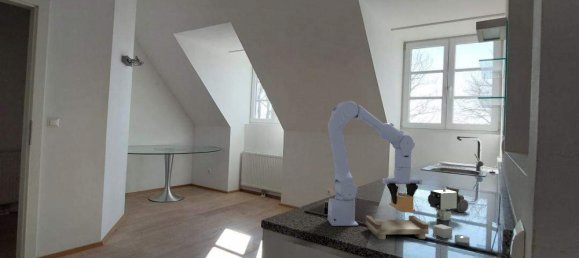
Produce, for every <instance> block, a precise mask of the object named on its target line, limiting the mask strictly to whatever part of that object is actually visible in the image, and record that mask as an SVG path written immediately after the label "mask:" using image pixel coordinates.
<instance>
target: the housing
mask: <svg viewBox="0 0 579 258" xmlns="http://www.w3.org/2000/svg"><path fill="white" fill-rule="evenodd" d="M414 198H415V197H414V196H413V197H412V196H410V195H408V194H407V192H405V191H397V204H394V203H392V197H391V196H390V202H389V204H388V205H389V206H391V207H393V209H396V210H398V211H399V212H401V213H415V212H416V210H415V209H414Z"/></svg>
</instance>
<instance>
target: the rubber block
mask: <svg viewBox="0 0 579 258" xmlns="http://www.w3.org/2000/svg"><path fill="white" fill-rule="evenodd" d="M434 234H435V235H434ZM432 235H434V236H436V235H438V237H439V236H440V238H443V239H447V238H451V237H453V227H452V226H448V225H445V224H441V223H440V224H435V225H432Z"/></svg>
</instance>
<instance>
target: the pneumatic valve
mask: <svg viewBox="0 0 579 258" xmlns="http://www.w3.org/2000/svg"><path fill="white" fill-rule="evenodd" d="M458 194H459V192H456V191H451V190H447V188H444V187H443V188H442V189H437V190H430V192H429V195H428V196H427V202H428V204H429V205H430V206H429V207H430V208H433V209H436V213H435V216H436V219H438V220H441V221H443V222H446V221H451V217H452V212H451V211H450V209H451V210H453V208H458V204H459V203H460V196H459V195H458Z"/></svg>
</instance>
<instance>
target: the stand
mask: <svg viewBox="0 0 579 258" xmlns="http://www.w3.org/2000/svg"><path fill="white" fill-rule="evenodd" d="M429 225H430V224H429V223H427V222H426V221H424V220H421V219H420V218H418V217H417V216H415V215H408V219H375V217H373V216H371V215H365V226H367V227H368V230H369V231H370V232H371V233H372V234H373V235H374V236H375V237H376V238H377V239H379V240H386V236H387V235H413V234H414V236H415V237H416V238H418V239H420V240H425V239H426V235H429V232H430V231H429V230H430V229H429V227H430V226H429Z"/></svg>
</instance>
